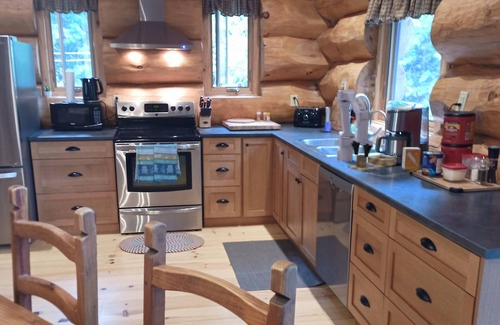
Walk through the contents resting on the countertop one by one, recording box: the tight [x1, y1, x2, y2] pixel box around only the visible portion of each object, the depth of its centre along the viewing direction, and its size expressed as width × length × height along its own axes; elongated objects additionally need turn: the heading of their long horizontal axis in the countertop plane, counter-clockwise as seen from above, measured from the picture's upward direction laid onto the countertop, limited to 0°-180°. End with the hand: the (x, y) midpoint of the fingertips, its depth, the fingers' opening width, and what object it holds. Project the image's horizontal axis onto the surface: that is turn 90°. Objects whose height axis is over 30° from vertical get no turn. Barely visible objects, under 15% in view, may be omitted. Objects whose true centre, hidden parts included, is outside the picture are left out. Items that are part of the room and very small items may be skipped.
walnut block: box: [355, 154, 368, 168], centre depth 253 cm, size 4×4×6 cm
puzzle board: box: [347, 154, 397, 173], centre depth 258 cm, size 13×25×5 cm, turn 121°
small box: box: [401, 146, 421, 173], centre depth 249 cm, size 8×6×13 cm
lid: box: [378, 152, 398, 158], centre depth 264 cm, size 8×7×3 cm
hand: (361, 156), depth 253 cm, fingers open, 7 cm apart
